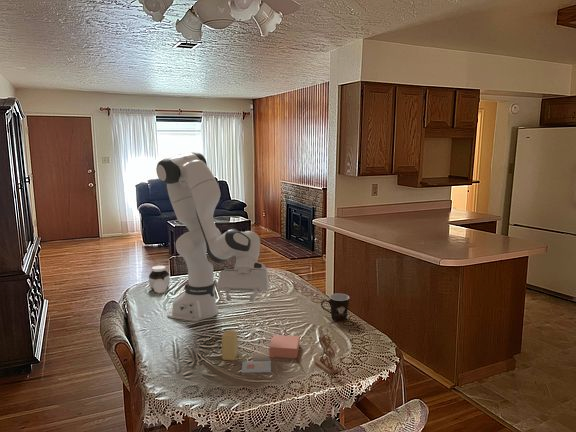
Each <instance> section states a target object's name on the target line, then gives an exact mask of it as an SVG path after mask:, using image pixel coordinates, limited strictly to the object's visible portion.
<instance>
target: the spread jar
mask: <svg viewBox="0 0 576 432" xmlns="http://www.w3.org/2000/svg"><path fill="white" fill-rule="evenodd" d="M170 279H171V278H170V273H169V272H168V271H167V270H166V266H165V265H156V266H152V267H151V272H150V273H149V276H148V283H149V288H151V290H153V291H154V292H155V293H158V294H162V293H165V292H166V291H167V289H168V287H169V286H170V281H171V280H170Z"/></svg>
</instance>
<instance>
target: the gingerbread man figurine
mask: <svg viewBox="0 0 576 432" xmlns="http://www.w3.org/2000/svg"><path fill="white" fill-rule="evenodd" d="M318 340H319V341H318V342H319V344H320V346H321V347H322V348H323V351H322V355H321V357H320V358H319V359H318V360H315V361H314V365H315V366H316V367H319V369H321V370H322V371H323V372H326V373H327V374H328V375H330V376H331V375H334V374H336V373H339V372H340V369H339V368H338V367H336V366H335V365H334V364H333V362H332V359H334V358H335V357H336V353H335V350H334V348H333V346H331V343H332V340H331V337H330V335H329V334H324V335H323V336H322V335H321V336H319V337H318ZM328 349H330V350H328ZM324 356H325V358H324Z"/></svg>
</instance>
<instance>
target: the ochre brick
mask: <svg viewBox="0 0 576 432" xmlns="http://www.w3.org/2000/svg"><path fill="white" fill-rule="evenodd" d="M238 347H239V346H238V330H224V331H223V333H222V335H221V354H222V355H221V358H222V360H225V361H226V360H227V361H235V360H236V359H237V357H238V355H239V354H238V353H239V351H238V349H239V348H238Z"/></svg>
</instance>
